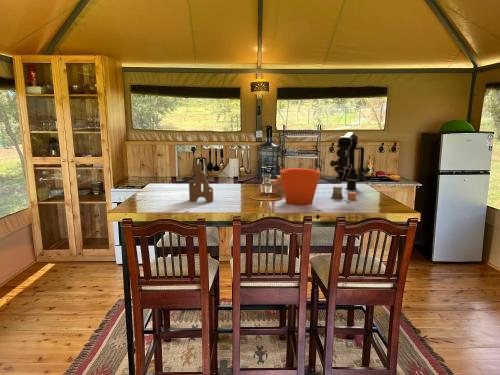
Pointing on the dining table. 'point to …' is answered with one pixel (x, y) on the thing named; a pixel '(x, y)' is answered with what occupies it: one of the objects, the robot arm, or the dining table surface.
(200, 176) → the wooden toy
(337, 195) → the walnut base
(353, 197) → the terracotta block
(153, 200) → the dining table surface
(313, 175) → the flowerpot
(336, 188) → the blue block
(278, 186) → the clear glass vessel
